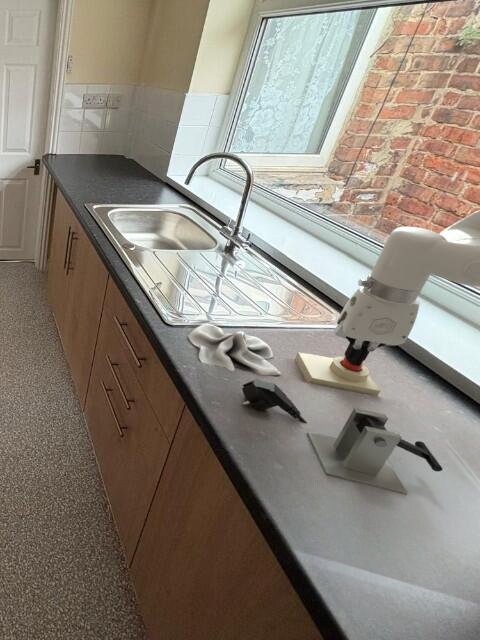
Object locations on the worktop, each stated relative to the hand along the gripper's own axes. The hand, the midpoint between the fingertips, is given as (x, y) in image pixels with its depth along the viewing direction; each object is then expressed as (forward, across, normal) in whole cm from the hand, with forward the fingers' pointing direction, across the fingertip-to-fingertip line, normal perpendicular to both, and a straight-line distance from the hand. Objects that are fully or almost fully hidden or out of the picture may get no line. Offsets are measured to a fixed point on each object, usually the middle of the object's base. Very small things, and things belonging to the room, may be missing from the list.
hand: (352, 360), depth 90 cm
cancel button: (+2, 0, 0) cm, 2 cm away
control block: (+5, -2, 0) cm, 6 cm away
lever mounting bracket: (+5, -8, -25) cm, 27 cm away
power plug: (+6, -18, -16) cm, 25 cm away
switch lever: (-1, -4, -25) cm, 25 cm away
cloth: (+6, -22, +1) cm, 22 cm away
